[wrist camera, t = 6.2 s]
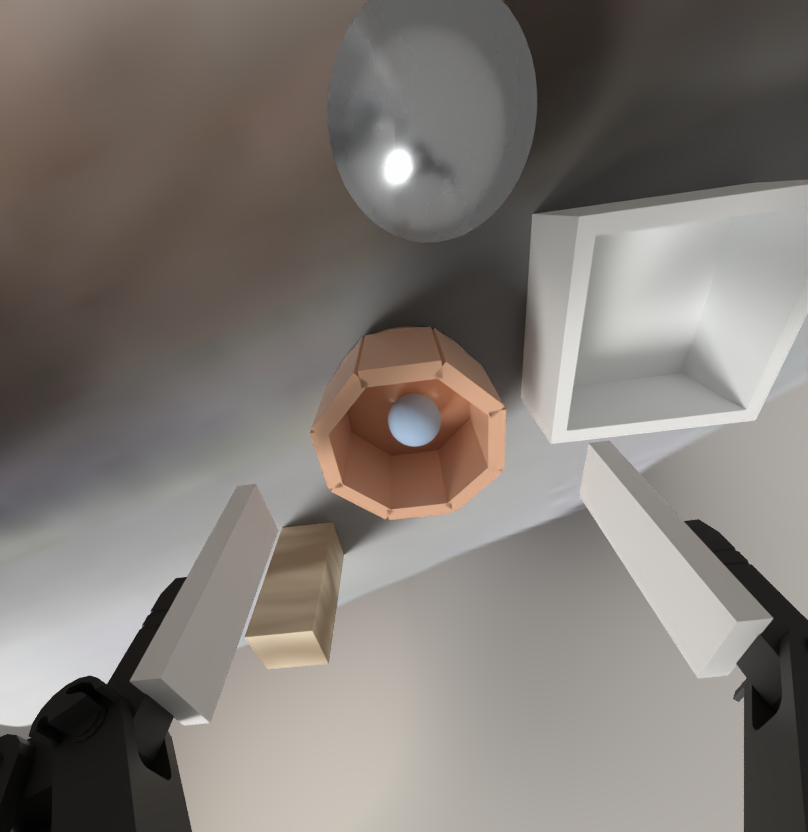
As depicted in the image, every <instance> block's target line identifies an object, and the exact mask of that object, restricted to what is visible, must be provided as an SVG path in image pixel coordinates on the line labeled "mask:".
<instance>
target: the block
mask: <svg viewBox="0 0 808 832" xmlns="http://www.w3.org/2000/svg"><path fill="white" fill-rule="evenodd" d="M343 558H344V554H343V551H342V548H341V545H340V542H339V539H338V536H337V533H336V530H335V527H334V524H333V522H329V523H320V524H311V525H302V526H292V527H283V528H282V530H281V533H280V536H279V539H278V542H277V545H276V548H275V551H274V553H273V556H272V559H271V562H270V565H269V568H268V571H267V574H266V577H265V580H264V583H263V585H262V588H261V591H260V594H259V597H258V600H257V603H256V606H255V609H254V612H253V614H252V617H251V620H250V623H249V626H248V629H247V632H246V635H245V639H246V640H247V641H248V643H249V644H250V646H251V647H252V648H253V650H254V651H255V653H256V654H257V655H258V657H259V658H260V660H261V661H262V663H263V664H264V665H265V667H266V668H267V669H276V668H287V667H297V666H308V665H318V664H319V665H320V664H328V663H329V658H330V650H331V643H332V636H333V628H334V622H335V615H336V608H337V601H338V593H339V586H340V579H341V572H342V565H343Z"/></svg>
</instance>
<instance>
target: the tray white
mask: <svg viewBox="0 0 808 832" xmlns="http://www.w3.org/2000/svg"><path fill="white" fill-rule="evenodd" d="M807 313H808V179H806V180H791V181H775V182H760V183H748V184H741V185H734V186H727V187H720V188H713V189H706V190H699V191H692V192H685V193H678V194H671V195H664V196H656V197H649V198H642V199H635V200H628V201H621V202H614V203H607V204H600V205H593V206H586V207H579V208H572V209H565V210H558V211H551V212H544V213H537V214H532V226H531V243H530V259H529V275H528V291H527V307H526V323H525V340H524V356H523V372H522V388H521V400H522V401H523V403H524V404H525V406H526V407H527V409H528V410H529V412H530V413H531V415H532V416H533V418H534V419H535V421H536V422H537V424H538V425H539V427H540V428H541V430H542V431H543V433H544V434H545V436H546V437H547V439H548V440H549V442H550V443H551V444H554V443H563V442H572V441H580V440H589V439H598V438H606V437H615V436H624V435H632V434H641V433H650V432H658V431H667V430H676V429H684V428H693V427H702V426H710V425H719V424H728V423H736V422H745V421H753V420H756V418H757V416H758V414H759V412H760V410H761V408H762V406H763V404H764V402H765V400H766V398H767V396H768V393H769V391H770V389H771V387H772V385H773V383H774V381H775V379H776V377H777V375H778V373H779V371H780V369H781V367H782V365H783V363H784V361H785V359H786V356H787V354H788V352H789V350H790V348H791V346H792V344H793V342H794V340H795V338H796V336H797V334H798V332H799V330H800V328H801V326H802V324H803V322H804V319H805V317H806V315H807Z"/></svg>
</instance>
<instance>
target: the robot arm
mask: <svg viewBox="0 0 808 832" xmlns="http://www.w3.org/2000/svg"><path fill="white" fill-rule="evenodd" d="M579 496H580V497H581V499H582V500H583V502H584V503H585V505H586V507H587V508H588V510H589V511H590V513H591V514H592V516H593V517H594V519H595V520H596V522H597V523H598V525H599V527H600V528H601V530H602V531H603V533H604V534H605V536H606V537H607V539H608V541H609V542H610V544H611V545H612V547H613V548H614V550H615V551H616V553H617V554H618V556H619V557H620V559H621V561H622V562H623V564H624V565H625V567H626V568H627V570H628V571H629V573H630V574H631V576H632V578H633V579H634V581H635V582H636V584H637V585H638V587H639V588H640V590H641V592H642V593H643V595H644V596H645V598H646V599H647V601H648V602H649V604H650V605H651V607H652V608H653V610H654V612H655V613H656V615H657V616H658V618H659V619H660V621H661V622H662V624H663V625H664V627H665V629H666V630H667V632H668V633H669V635H670V636H671V638H672V639H673V641H674V643H675V644H676V646H677V647H678V649H679V650H680V652H681V653H682V655H683V656H684V658H685V660H686V661H687V663H688V664H689V666H690V667H691V669H692V670H693V672H694V673H695V675H696V677H697V678H707V677H718V676H728V675H729V674H730V672H731V671H732V670H733V669H734V667H735V666H736V665H738V667H739V668H740V669H741V670H742V672H743V673H744V675H745V676H746V677H747V679H746V680H745V681H744V682H743V683H742V684H741V686H740V687H739V688H738V689H737V690H736V691H735V694H734V698H733V699H734V700H736V701H738V702H739V701H740V700H741V699H742V698H743V697H744V832H808V620H807V619H806V618H805V617H804V616H803V615H802V614H801V613H800V612H799V611H798V610H797V609H796V608H795V607H794V606H793V605H792V604H791V603H790V602H789V601H788V600H787V599H786V598H785V597H784V596H783V595H782V594H781V593H780V592H779V591H778V590H776V588H775V587H773V585H772V584H770V582H769V581H768V580H766V578H764V576H763V575H762V574H761V573H759V571H757V569H756V568H754V566H752V565H750V564H749V563H748V561H747V559H745V558H744V557H743V556H742V555H741V554H740V553H739V552H738V551H736V550H735V548H734V547H733V546H732V545H731V544H730V543H729V542H728V541H727V540H726V539H725V538H724V537H723V536H722V535H721V534H720V533H719V532H718V531H716V530H715V529H713V528H712V527H710V526H708V525H707V524H705V523H704V522H702V521H700V520H690V521H683V520H682V519H681V518H680V517H679V516H678V515H677V514H676V512H675V511H674V510H673V509H672V508H671V507H670V506H669V505H668V504H667V503H666V502H665V501H664V499H662V497H661V496H660V495H659V494H658V493H657V492H656V491H655V490H654V489H653V488H652V487H651V486H650V484H649V483H648V482H647V481H646V480H645V479H644V478H643V477H642V476H641V475H640V474H639V472H638V471H637V470H636V469H635V468H634V467H633V466H632V465H631V464H630V463H629V462H628V461H627V459H626V458H625V457H624V456H623V455H622V454H621V453H620V452H619V451H618V450H617V449H616V448H615V447H614V445H613V444H612V443H611V442H610V441H603V442H595V443H589V445H588V451H587V456H586V461H585V467H584V472H583V478H582V483H581V489H580V494H579ZM277 532H278V529H277V527H276V525H275V523H274V521H273V518H272V516H271V514H270V512H269V510H268V508H267V506H266V504H265V502H264V500H263V498H262V495H261V493H260V491H259V489H258V487H257V485H256V484H250V485H242V486H237V488H236V489H235V491H234V493H233V495H232V497H231V498H230V500H229V502H228V504H227V506H226V508H225V509H224V511H223V513H222V515H221V517H220V518H219V520H218V522H217V524H216V526H215V527H214V529H213V531H212V533H211V535H210V536H209V538H208V540H207V542H206V544H205V545H204V547H203V549H202V551H201V553H200V555H199V556H198V558H197V560H196V562H195V564H194V565H193V567H192V569H191V571H190V573H189V574H188V576H187V577H183V578H176V579H175V580H174V581H173V582H172V583H171V584H170V585H169V586H168V587H167V588H166V589H165V590H164V591H163V592H162V593H161V595H160V596H159V598H158V600H157V601H156V603H155V605H154V606H153V608H152V610H151V614H150V615H148V616H147V618H146V620H145V622H144V623H143V625H142V629H140V630H139V632H138V633H137V635H136V637H135V638H134V640H133V642H132V643H131V645H130V647H129V648H128V650H127V652H126V653H125V655H124V657H123V658H122V660H121V662H120V663H119V665H118V667H117V668H116V670H115V672H114V674H113V675H112V677H111V679H110V680H109V682H108V684H107V685H106V684H105V683H104V682H103V681H101V680H100V679H99V678H96V677H93V676H87V677H82V678H79V679H77V680H75V681H73V682H71V683H69V684H68V685H66V686H65V687H64V688H62V689H61V690H60V691H59V692H57V693H56V694H55V695H54V696H53V697H52V698H51V699H50V700H49V701H48V702H47V703H46V704H45V706H44V707H43V708H42V709H41V710H40V712H39V714H38V715H37V717H36V718H35V720H34V722H33V723H32V726H31V730H30V733H29V737H31V738H30V739H28V740H25V739H23V738H21V737H19V736H17V735H10V734H7V735H4V736H1V737H0V832H192V830H191V825H190V820H189V816H188V811H187V807H186V802H185V797H184V792H183V788H182V784H181V778H180V774H179V769H178V765H177V760H176V755H175V750H174V746H173V741H172V737H171V736H170V734H169V732H168V729H169V727H170V724H171V722H172V720H173V717H174V718H175V719H176V720H178V721H179V722H180V723H181V724H182V725H193V724H204V723H210V722H211V719H212V716H213V713H214V710H215V708H216V705H217V702H218V699H219V697H220V694H221V691H222V688H223V685H224V682H225V679H226V677H227V674H228V671H229V668H230V665H231V662H232V659H233V657H234V654H235V651H236V648H237V645H238V643H239V640H240V637H241V634H242V631H243V628H244V626H245V623H246V620H247V617H248V614H249V611H250V609H251V606H252V603H253V600H254V597H255V594H256V591H257V589H258V586H259V583H260V580H261V577H262V574H263V572H264V569H265V566H266V563H267V560H268V557H269V555H270V552H271V549H272V546H273V543H274V540H275V537H276V535H277Z"/></svg>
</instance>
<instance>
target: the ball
mask: <svg viewBox="0 0 808 832" xmlns="http://www.w3.org/2000/svg"><path fill="white" fill-rule="evenodd" d="M388 425H389V429H390V431H391V433H392V435H393V436H394V437H395V438H396V439H397V440H398V441H399V442H401V443H402V444H404V445H407V446H414V447H416V446H422V445H425V444H427V443H429V442H430V441H432V440H433V439H434V438H435V436H436V435H437V434H438V432H439V429H440V426H441V414H440V410H439V408H438V406H437V405H436V403H435V402H434V401H433V400H432V399H430V398H429V397H427V396H425V395H422V394H418V393H411V394H407V395H404V396H402V397H400V398H399V399H398V400H396V401H395V403H394V404H393V405H392V407H391V409H390V411H389V415H388Z"/></svg>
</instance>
